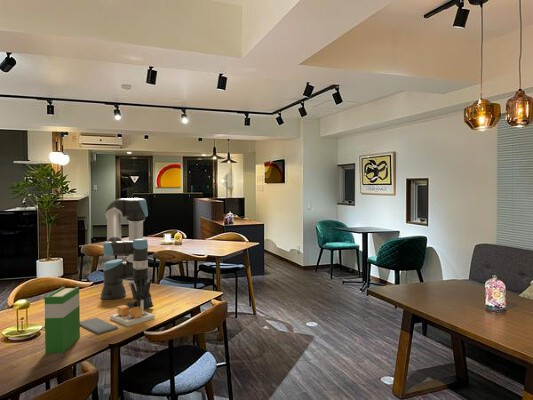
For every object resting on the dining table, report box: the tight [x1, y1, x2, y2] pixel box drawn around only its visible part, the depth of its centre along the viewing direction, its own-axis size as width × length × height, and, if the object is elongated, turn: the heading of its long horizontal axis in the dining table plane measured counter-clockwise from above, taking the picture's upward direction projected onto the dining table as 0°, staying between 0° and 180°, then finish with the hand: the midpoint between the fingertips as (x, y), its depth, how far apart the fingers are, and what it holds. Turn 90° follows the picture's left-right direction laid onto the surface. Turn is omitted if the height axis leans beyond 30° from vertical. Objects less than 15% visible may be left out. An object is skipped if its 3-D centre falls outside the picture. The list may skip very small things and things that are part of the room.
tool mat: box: [80, 317, 119, 335], centre depth 200 cm, size 22×10×1 cm, turn 50°
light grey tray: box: [109, 310, 156, 327], centre depth 211 cm, size 17×16×2 cm
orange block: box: [129, 307, 142, 318], centre depth 209 cm, size 5×4×4 cm
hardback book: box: [44, 285, 81, 354], centre depth 176 cm, size 18×7×24 cm, turn 4°
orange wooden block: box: [116, 304, 130, 316], centre depth 212 cm, size 5×4×4 cm
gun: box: [127, 291, 155, 310], centre depth 230 cm, size 3×17×15 cm
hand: (140, 311), depth 211 cm, fingers closed
